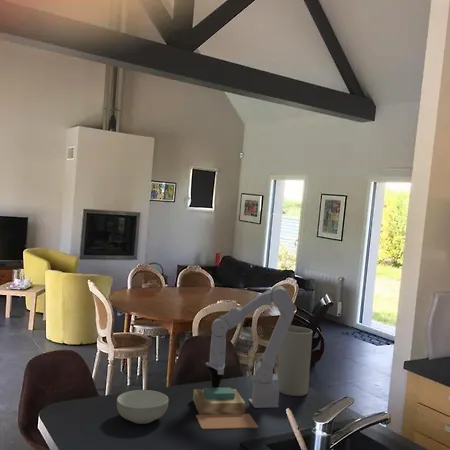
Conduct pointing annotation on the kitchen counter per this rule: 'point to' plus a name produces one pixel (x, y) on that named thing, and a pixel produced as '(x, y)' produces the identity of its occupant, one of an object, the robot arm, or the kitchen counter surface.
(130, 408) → the cereal bowl
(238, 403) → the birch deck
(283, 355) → the cylinder vase
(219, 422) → the terracotta mat
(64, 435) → the kitchen counter surface
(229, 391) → the teal rectangular block
